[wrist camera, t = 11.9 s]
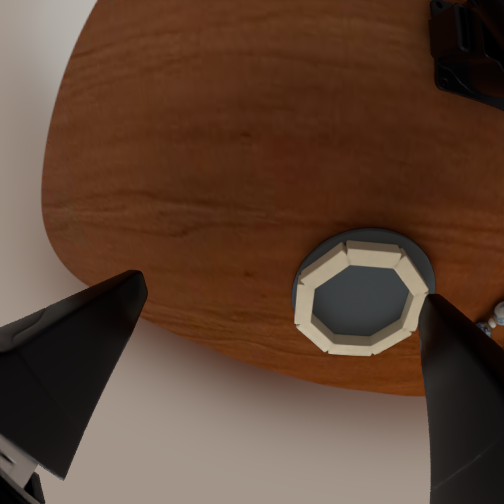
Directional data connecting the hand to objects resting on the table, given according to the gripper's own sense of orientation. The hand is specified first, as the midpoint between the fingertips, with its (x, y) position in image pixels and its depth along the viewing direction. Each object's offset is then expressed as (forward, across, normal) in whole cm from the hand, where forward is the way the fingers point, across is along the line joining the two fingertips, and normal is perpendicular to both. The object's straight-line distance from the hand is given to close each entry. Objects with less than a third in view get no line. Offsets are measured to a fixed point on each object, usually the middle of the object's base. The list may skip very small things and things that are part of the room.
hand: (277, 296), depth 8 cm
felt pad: (+11, -5, +8) cm, 15 cm away
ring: (+11, -5, +8) cm, 14 cm away
